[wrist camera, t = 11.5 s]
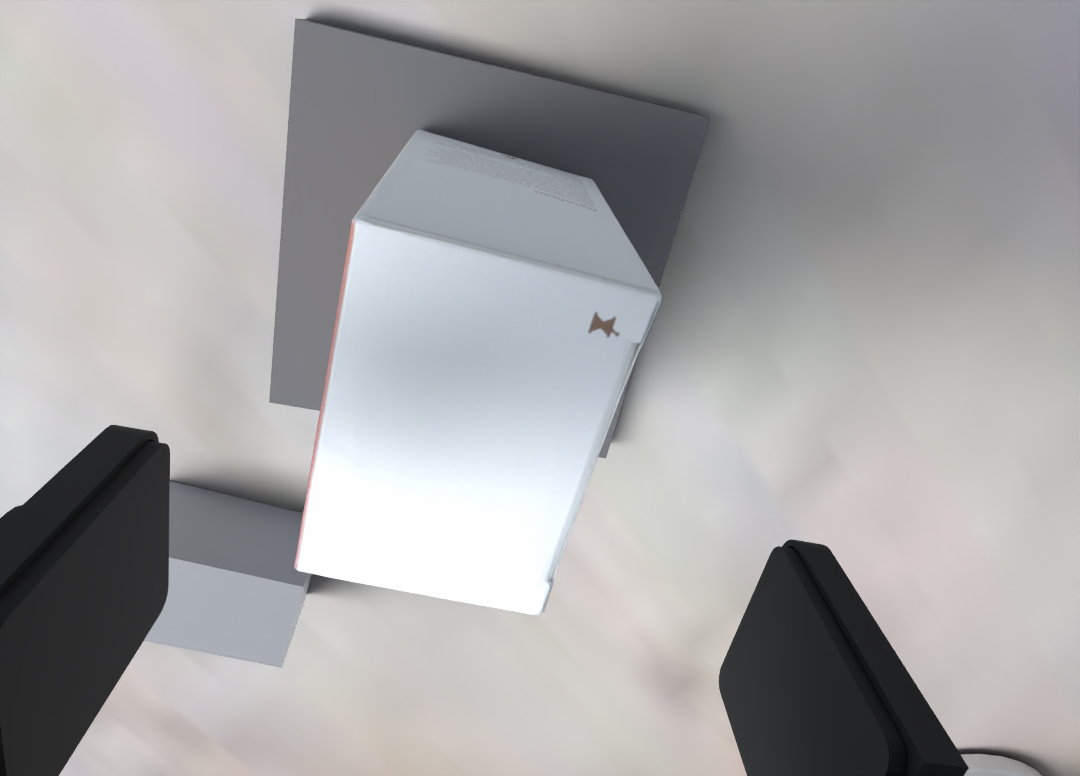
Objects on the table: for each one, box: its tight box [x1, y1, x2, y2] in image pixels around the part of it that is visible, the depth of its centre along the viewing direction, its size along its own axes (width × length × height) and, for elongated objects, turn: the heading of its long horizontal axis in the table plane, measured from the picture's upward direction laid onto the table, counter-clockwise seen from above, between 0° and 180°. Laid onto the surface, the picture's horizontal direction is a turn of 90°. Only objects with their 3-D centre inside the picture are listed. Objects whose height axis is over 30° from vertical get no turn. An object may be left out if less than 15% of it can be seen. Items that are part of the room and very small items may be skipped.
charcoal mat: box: [270, 19, 710, 458], centre depth 23 cm, size 12×12×1 cm
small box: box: [294, 130, 662, 615], centre depth 18 cm, size 8×6×10 cm
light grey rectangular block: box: [144, 481, 312, 668], centre depth 27 cm, size 6×4×4 cm, turn 70°
